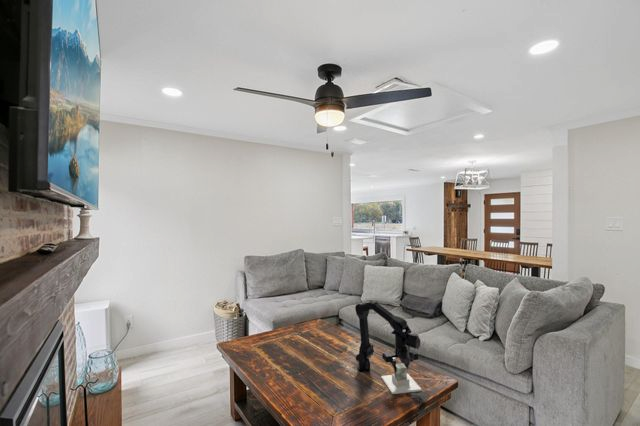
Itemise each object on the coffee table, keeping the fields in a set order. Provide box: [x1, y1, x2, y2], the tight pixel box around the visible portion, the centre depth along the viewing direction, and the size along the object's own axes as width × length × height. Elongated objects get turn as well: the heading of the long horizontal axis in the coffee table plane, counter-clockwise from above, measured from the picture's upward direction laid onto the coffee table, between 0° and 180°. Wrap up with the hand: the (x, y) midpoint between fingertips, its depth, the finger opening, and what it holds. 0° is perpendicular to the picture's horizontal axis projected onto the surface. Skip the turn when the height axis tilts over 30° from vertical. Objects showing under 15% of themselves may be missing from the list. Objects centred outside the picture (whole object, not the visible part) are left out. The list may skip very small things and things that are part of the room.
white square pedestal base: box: [381, 372, 422, 395], centre depth 171 cm, size 16×16×4 cm
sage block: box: [393, 362, 408, 380], centre depth 171 cm, size 5×5×6 cm
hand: (400, 371), depth 171 cm, fingers open, 6 cm apart
